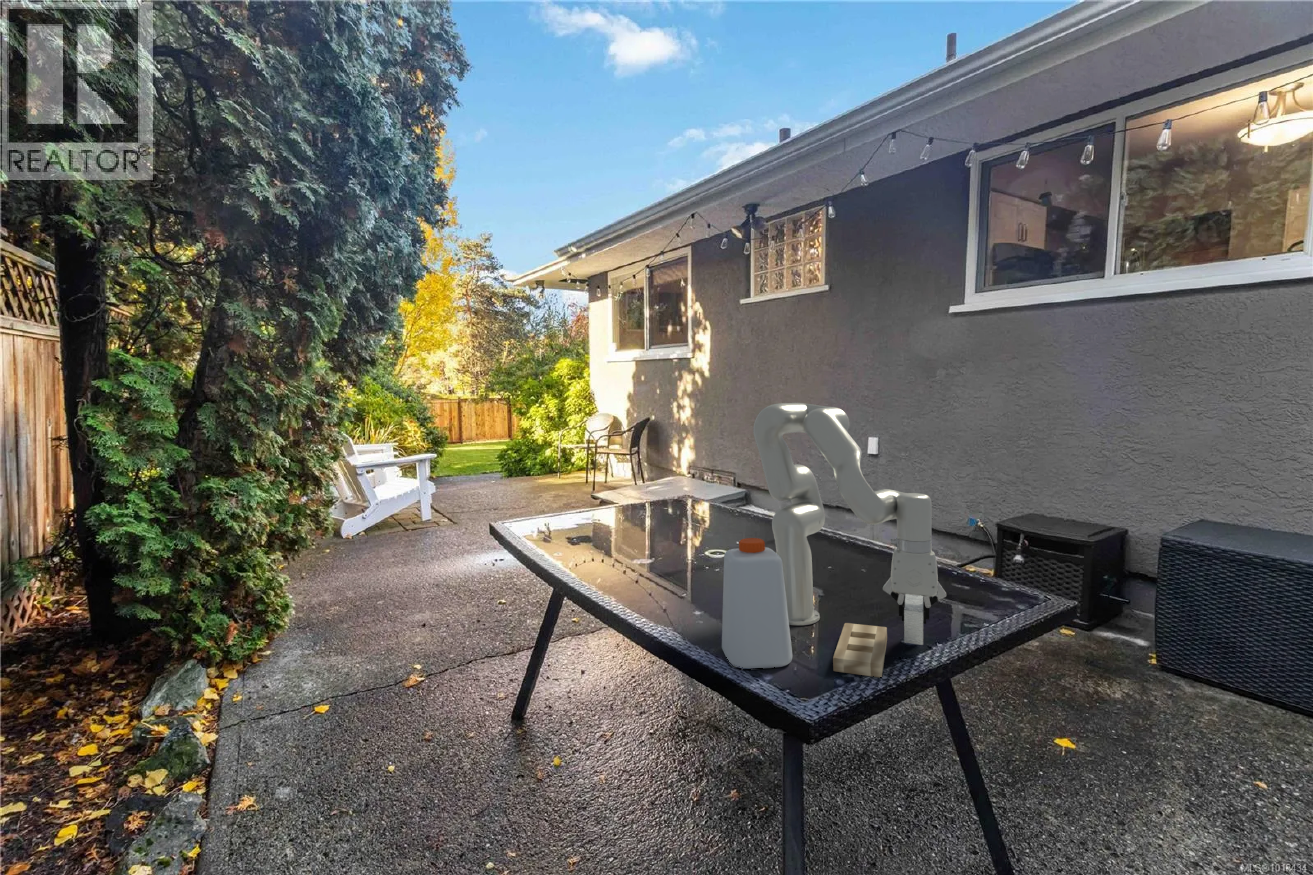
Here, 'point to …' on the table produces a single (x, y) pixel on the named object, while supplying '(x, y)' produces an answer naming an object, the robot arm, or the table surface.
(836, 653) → the birch rail
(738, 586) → the plastic bottle
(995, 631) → the table surface
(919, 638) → the brushed steel block
